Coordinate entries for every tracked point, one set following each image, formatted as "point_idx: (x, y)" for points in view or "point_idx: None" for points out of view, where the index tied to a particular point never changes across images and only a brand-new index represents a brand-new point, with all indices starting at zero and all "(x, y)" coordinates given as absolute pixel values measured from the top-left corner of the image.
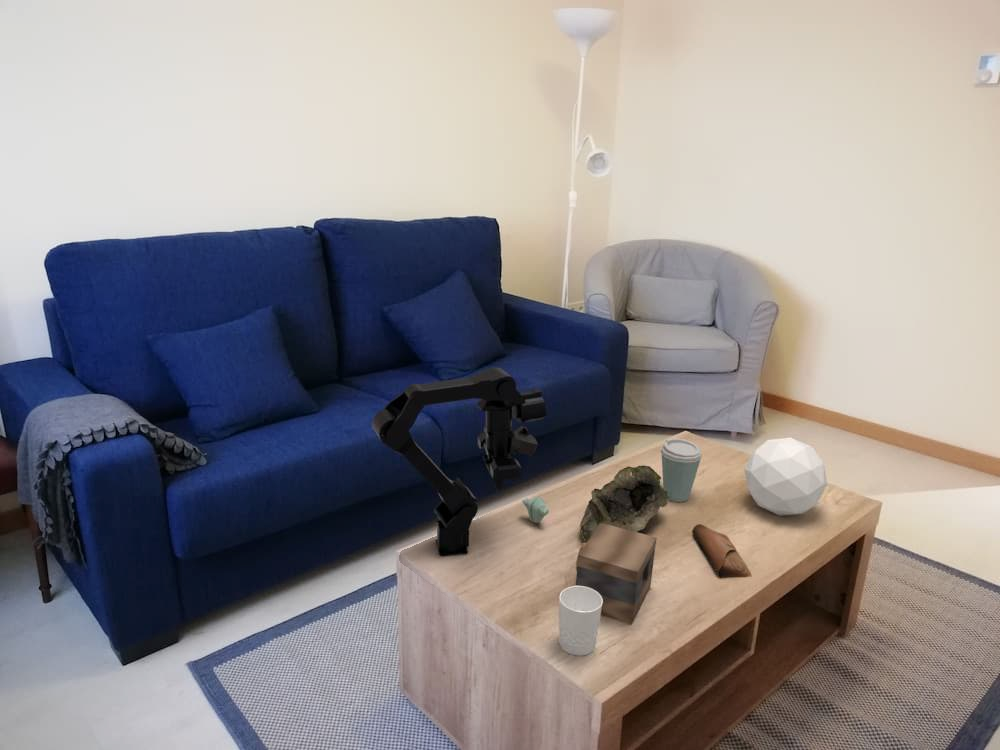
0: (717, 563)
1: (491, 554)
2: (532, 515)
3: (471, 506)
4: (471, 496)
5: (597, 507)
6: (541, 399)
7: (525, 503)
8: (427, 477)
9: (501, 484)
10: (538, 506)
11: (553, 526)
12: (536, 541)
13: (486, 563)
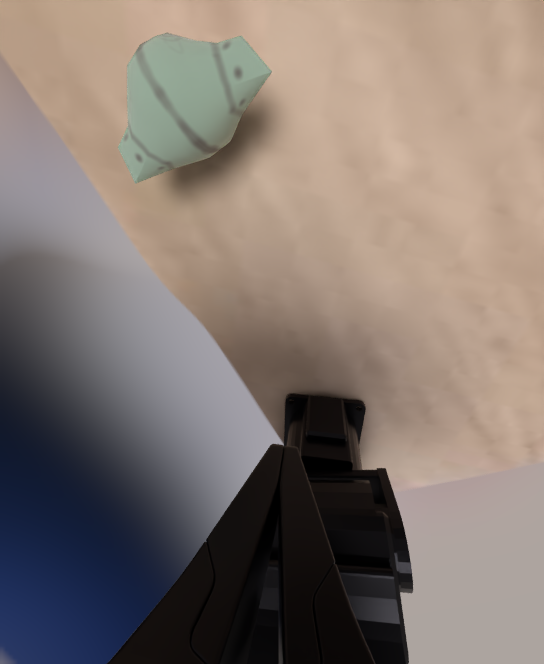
0: None
1: (386, 344)
2: (222, 146)
3: (404, 567)
4: (399, 626)
5: None
6: None
7: (159, 169)
8: None
9: (309, 489)
10: (217, 102)
11: (254, 38)
12: (355, 166)
13: (428, 369)
